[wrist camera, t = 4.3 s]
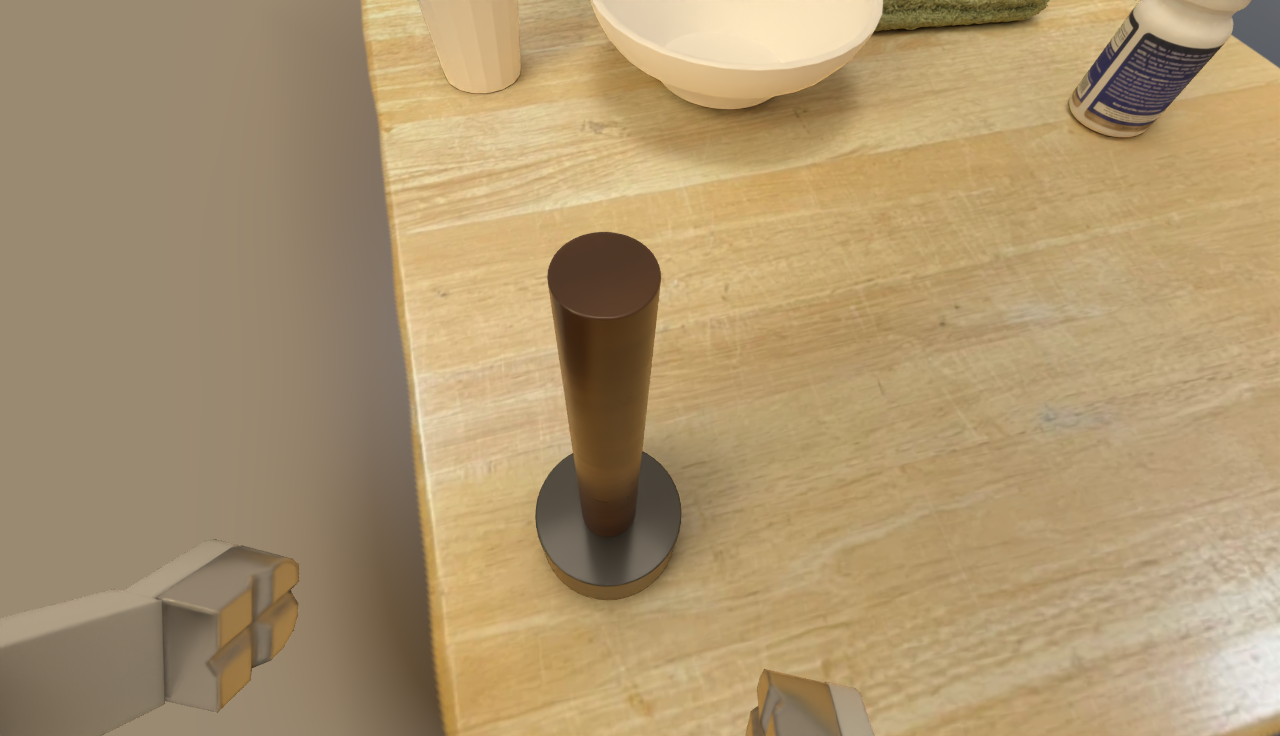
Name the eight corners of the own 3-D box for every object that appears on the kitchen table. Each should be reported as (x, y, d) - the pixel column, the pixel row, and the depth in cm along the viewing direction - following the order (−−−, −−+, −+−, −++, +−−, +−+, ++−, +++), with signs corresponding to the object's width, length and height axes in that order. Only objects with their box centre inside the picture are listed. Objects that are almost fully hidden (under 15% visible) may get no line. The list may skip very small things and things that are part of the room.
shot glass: (547, 62, 45) (537, -39, 39) (491, 110, 42) (471, 8, 36) (475, 34, 46) (454, -68, 40) (416, 78, 43) (384, -26, 37)
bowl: (547, 122, 41) (536, 23, 35) (639, -13, 51) (643, -108, 45) (822, 196, 39) (860, 102, 33) (864, 38, 48) (899, -56, 42)
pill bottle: (1162, 133, 43) (1297, -11, 35) (1101, 147, 42) (1225, 2, 34) (1108, 86, 46) (1220, -58, 38) (1049, 99, 45) (1151, -47, 37)
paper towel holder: (515, 526, 27) (383, 262, 11) (613, 444, 29) (615, 130, 14) (603, 631, 25) (588, 482, 9) (702, 534, 27) (822, 283, 12)
